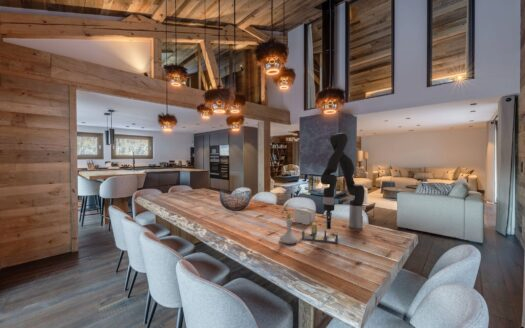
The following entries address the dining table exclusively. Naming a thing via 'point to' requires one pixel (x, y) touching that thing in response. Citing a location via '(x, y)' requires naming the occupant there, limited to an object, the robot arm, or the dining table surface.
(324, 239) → the grey compartment rack
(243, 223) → the dining table surface
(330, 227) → the plug white
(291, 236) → the white tapered rounded piece
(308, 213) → the cable organizer
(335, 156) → the robot arm
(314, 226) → the plug mustard
